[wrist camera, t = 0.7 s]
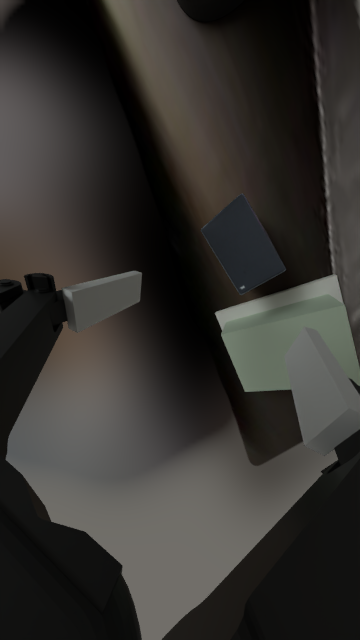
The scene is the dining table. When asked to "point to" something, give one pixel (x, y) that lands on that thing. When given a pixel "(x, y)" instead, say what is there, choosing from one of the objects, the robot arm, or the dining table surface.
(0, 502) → the robot arm
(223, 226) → the small box
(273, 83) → the dining table surface
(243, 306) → the baseplate
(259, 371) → the base brick
